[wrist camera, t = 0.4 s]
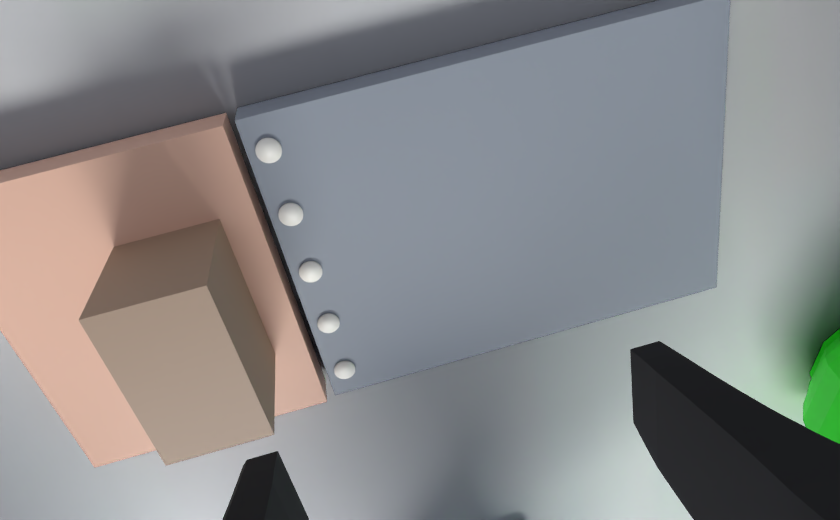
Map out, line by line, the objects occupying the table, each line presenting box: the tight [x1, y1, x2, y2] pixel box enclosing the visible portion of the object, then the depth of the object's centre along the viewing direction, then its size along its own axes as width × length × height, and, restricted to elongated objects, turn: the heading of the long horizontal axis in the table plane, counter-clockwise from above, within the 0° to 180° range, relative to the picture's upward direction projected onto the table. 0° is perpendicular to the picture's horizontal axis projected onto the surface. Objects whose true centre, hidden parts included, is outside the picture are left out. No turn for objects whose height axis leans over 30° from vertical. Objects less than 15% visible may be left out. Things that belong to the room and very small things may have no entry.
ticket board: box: [235, 0, 730, 395], centre depth 20 cm, size 10×14×1 cm
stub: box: [0, 113, 327, 467], centre depth 18 cm, size 10×8×5 cm
